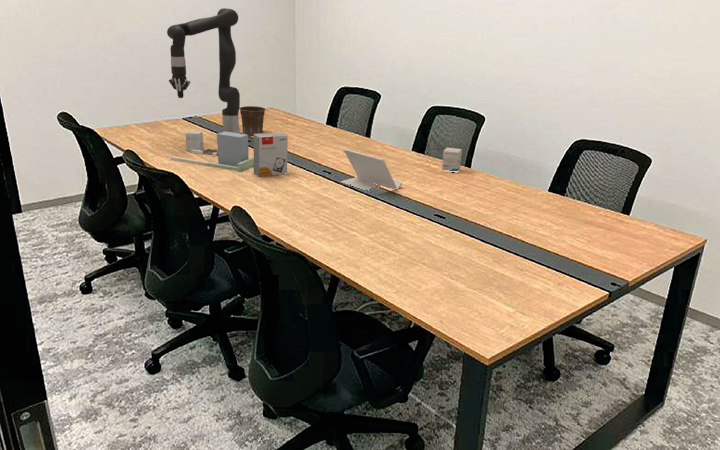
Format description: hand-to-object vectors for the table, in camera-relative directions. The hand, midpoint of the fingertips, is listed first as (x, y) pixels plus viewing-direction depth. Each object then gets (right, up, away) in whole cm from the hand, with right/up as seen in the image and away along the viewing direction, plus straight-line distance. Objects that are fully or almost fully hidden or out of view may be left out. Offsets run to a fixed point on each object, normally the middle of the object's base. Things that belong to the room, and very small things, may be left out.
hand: (180, 97), depth 318 cm
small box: (+5, -28, +11) cm, 30 cm away
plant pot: (+30, -11, +55) cm, 63 cm away
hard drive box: (+53, -44, -25) cm, 73 cm away
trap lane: (+22, -35, -6) cm, 42 cm away
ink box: (+147, -41, -6) cm, 152 cm away
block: (+32, -38, -12) cm, 51 cm away
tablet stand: (+103, -51, -36) cm, 120 cm away
